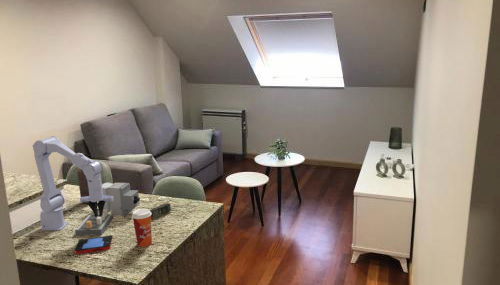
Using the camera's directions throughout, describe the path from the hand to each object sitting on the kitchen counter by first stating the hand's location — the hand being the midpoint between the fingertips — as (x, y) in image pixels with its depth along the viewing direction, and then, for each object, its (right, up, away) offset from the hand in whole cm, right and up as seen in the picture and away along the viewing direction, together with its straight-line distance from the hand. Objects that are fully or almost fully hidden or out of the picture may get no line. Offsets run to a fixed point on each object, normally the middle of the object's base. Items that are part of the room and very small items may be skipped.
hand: (98, 216), depth 185 cm
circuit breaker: (+6, -3, +23) cm, 24 cm away
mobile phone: (+24, -3, +20) cm, 31 cm away
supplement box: (-6, -1, +31) cm, 31 cm away
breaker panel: (-5, -7, +8) cm, 12 cm away
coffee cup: (+23, -11, -9) cm, 27 cm away
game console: (+1, -12, -9) cm, 15 cm away
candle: (-20, 0, +39) cm, 43 cm away
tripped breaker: (-5, -6, +1) cm, 8 cm away
